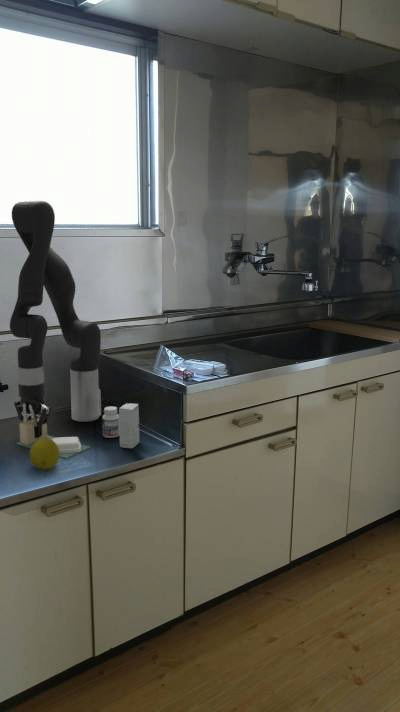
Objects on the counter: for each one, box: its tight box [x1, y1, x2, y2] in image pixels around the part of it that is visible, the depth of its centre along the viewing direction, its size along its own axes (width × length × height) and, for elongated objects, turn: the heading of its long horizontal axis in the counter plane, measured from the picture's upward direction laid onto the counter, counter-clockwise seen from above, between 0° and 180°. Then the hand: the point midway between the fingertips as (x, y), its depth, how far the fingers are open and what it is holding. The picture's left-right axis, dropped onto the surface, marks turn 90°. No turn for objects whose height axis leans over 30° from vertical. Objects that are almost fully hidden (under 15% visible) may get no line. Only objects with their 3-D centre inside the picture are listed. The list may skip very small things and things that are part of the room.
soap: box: [52, 436, 82, 454], centre depth 174 cm, size 9×7×3 cm
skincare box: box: [118, 402, 140, 449], centre depth 178 cm, size 6×4×12 cm
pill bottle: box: [101, 406, 120, 439], centre depth 186 cm, size 5×5×9 cm
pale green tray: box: [16, 418, 91, 460], centre depth 176 cm, size 10×20×6 cm, turn 58°
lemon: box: [29, 438, 60, 471], centre depth 161 cm, size 11×8×8 cm
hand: (33, 435), depth 181 cm, fingers closed on pale green tray, 3 cm apart
